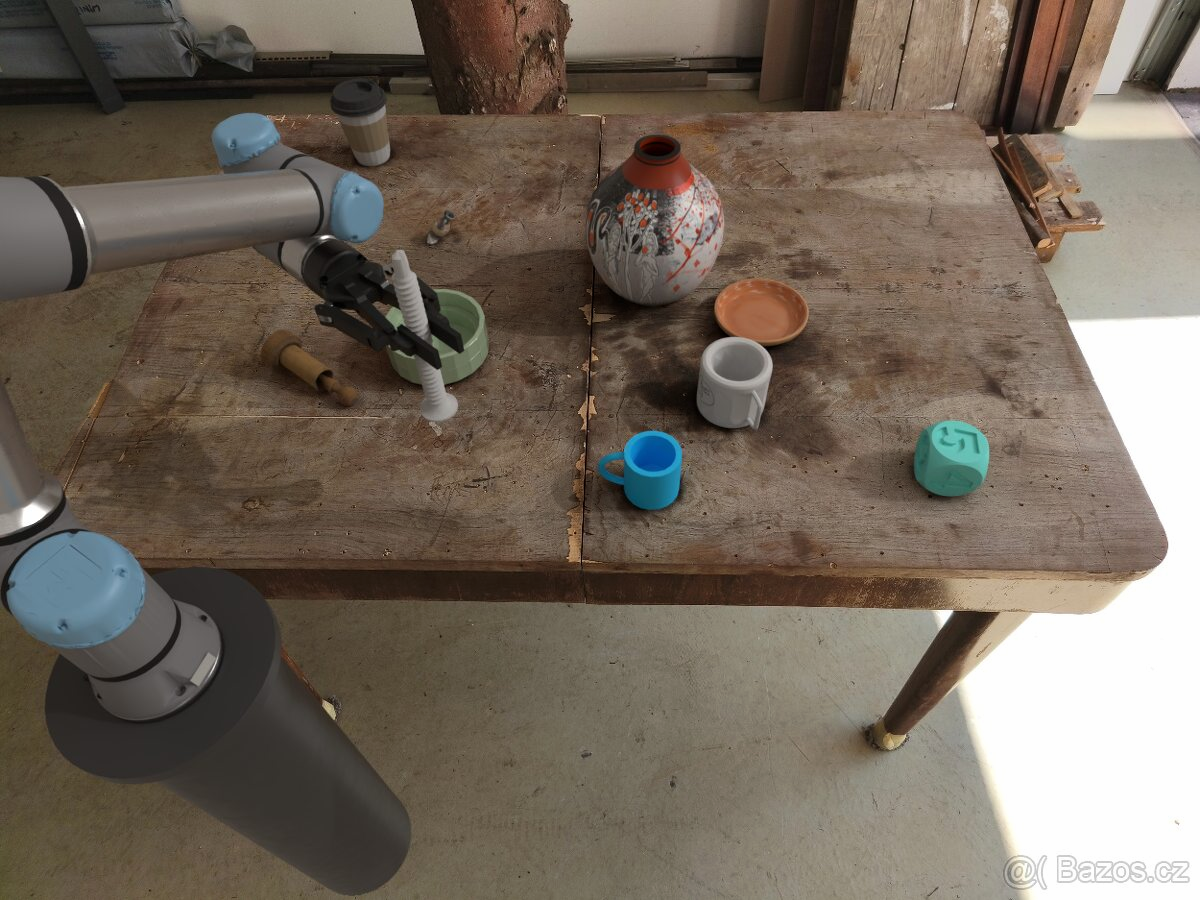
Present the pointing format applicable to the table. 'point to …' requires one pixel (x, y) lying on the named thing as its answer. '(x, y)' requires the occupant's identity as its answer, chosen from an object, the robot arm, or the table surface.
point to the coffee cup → (363, 119)
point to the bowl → (455, 366)
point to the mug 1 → (648, 469)
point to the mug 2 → (734, 382)
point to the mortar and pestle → (303, 365)
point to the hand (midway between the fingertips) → (448, 351)
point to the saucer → (761, 311)
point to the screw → (412, 308)
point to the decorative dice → (951, 458)
